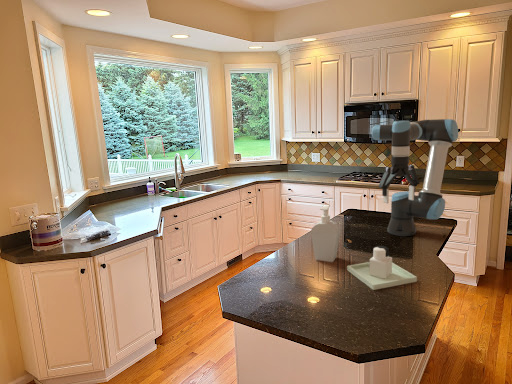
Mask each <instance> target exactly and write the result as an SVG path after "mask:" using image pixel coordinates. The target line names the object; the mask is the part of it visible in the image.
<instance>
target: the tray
mask: <svg viewBox="0 0 512 384" xmlns="http://www.w3.org/2000/svg"><path fill="white" fill-rule="evenodd" d="M346 270H347V271H348V272H349V273H350V274H351V275H353V276H354V277H356V278H357V279H358V280H359V281H361V282H362V283H363V284H365V285H366V286H367V287H369V288H370V289H371V290H373V291H374V290H375V291H376V290H380V289H386V288H391V287H396V286H401V285H407V284H411V283H417V282H418V277H417V276H416V275H414V274H413V273H412V272H409V271H408V270H406V269H404V268H403V267H400V266H399V265H397V264H396V263H394V262H392V273H391V274H390V275H389V276H388V277H387V278H386V279H384V278H380V277H376V276H372V275H369V261H366V262H361V263H356V264H349V265H347V266H346Z"/></svg>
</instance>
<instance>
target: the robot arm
mask: <svg viewBox="0 0 512 384" xmlns="http://www.w3.org/2000/svg"><path fill="white" fill-rule="evenodd" d="M371 128H372V129H371V137H372V139H373V140H374V141H391V155H392V156H391V158H390V160H391V161H390V164H391V167H388V166H385V168H384V173H383V175H382V178H381V179H380V181H379V184H378V189H379V188H380V189H381V191H382V192H381V193H382V194H381V195H382V196H383V203H385V204H388V205H389V199H390V198H389V197H390V196H389V195H390V192H389V191H390V189H389V187H390V185H391V184H392V183H393V182H394V180H395V179H396V178H397V177H404V178H405V179H406V181H407V182H408V184H409V185H408V190H407V191H399V192H394V193H392V195H391V201H390V202H391V204H390V205H391V209H390V210H391V211H390V212H391V213H390V216H391V217H390V220H389V222H388V226H387V230H386V231H387V233H388V234H390V235H393V236H398V237H412V236H415V235H416V233H417V228H416V224H415V222H414V217H415V218H422V219H426V220H438V219H440V218H441V217H442V215H443V214H444V211H445V208H446V200H445V198H443V194H442V193H441V190H442V189H441V188H442V182H443V179H444V178H443V177H444V171H445V167H446V163H447V157H448V152H449V148H451V147H452V146H453V142H454V143H455V142H457V140H458V138H459V126H458V124H457V122H456V120H455V119H452V118H451V119H449V118H445V119H443V118H442V119H440V118H439V119H437V118H436V119H423V120H417V121H410V120H394V121H393V123H392V124H375V125H374V126H373V127H371ZM411 141H422V142H428V145H429V147H430V148H429V153H428V159H427V163H426V170H425V175H424V178H423V185H422V189H420V191H418V194H417V195H415V193H416V187H418V185H420V181H419V178H418V175H417V173H416V170H415V165H413V164H410V147H411V145H410V144H411Z"/></svg>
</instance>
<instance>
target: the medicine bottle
mask: <svg viewBox="0 0 512 384" xmlns="http://www.w3.org/2000/svg"><path fill="white" fill-rule="evenodd" d="M372 250H373V251H372V254H373V255H372V257H370V258H369V261H368V262H369V275H372V276H376V277H380V278H384V279H386V278H387V277H388V276H389V275H390V274H391V273H392V263H393V257H391V256H389V254H390V251H389V247H387V246H384V245H376V246H373V249H372Z"/></svg>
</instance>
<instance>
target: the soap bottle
mask: <svg viewBox="0 0 512 384" xmlns="http://www.w3.org/2000/svg"><path fill="white" fill-rule="evenodd" d="M330 207H331V205H330V204H324V205H322V206H321V208H320V210H321V211H323V214H322V215H321V214H320V219H321V220H319V221H318V222H316V223H315V225H313V227H311V228H310V229H311V230H310V237H311V242H312V248H313V254H314V259H315V261H322V262H328V263H334V261H335V259H336V258H337V254H338V248H339V244H340V243H339V242H340V235H341V232H342V231H341V230H342V229H341V226H340V225H339V224H338V223H337V222H336V221H333V220H331V215H330V214H328V213H329V208H330Z"/></svg>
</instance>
